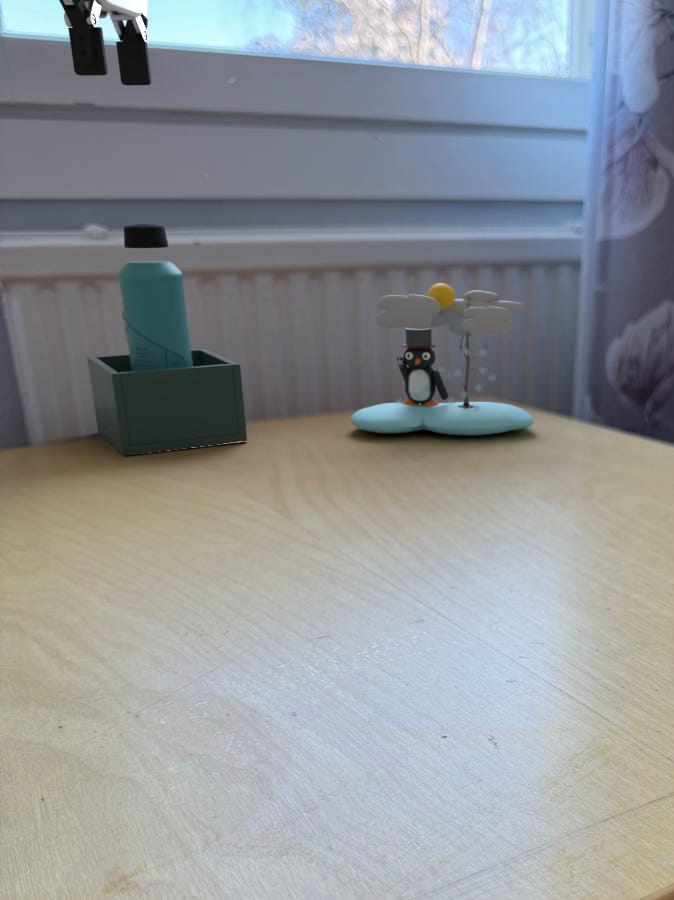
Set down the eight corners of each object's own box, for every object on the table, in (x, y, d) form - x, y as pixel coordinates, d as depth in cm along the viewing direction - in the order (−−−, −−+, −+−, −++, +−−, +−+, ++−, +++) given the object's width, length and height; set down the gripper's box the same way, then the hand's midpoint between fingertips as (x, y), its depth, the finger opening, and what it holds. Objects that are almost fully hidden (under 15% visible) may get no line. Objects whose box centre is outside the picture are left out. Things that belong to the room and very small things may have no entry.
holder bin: (123, 456, 98) (111, 374, 95) (98, 432, 108) (86, 356, 105) (247, 442, 104) (240, 364, 101) (212, 420, 114) (205, 348, 111)
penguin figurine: (344, 439, 105) (336, 288, 99) (360, 418, 115) (354, 279, 109) (533, 442, 105) (537, 290, 98) (533, 421, 114) (537, 281, 108)
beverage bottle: (206, 421, 109) (185, 223, 101) (194, 434, 103) (170, 225, 95) (146, 421, 109) (119, 222, 100) (130, 435, 102) (100, 225, 94)
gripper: (95, -100, 103) (119, 88, 110) (0, -152, 88) (35, 71, 95) (164, -102, 102) (184, 88, 109) (80, -155, 87) (109, 70, 94)
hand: (115, 80), depth 102 cm, fingers open, 9 cm apart
